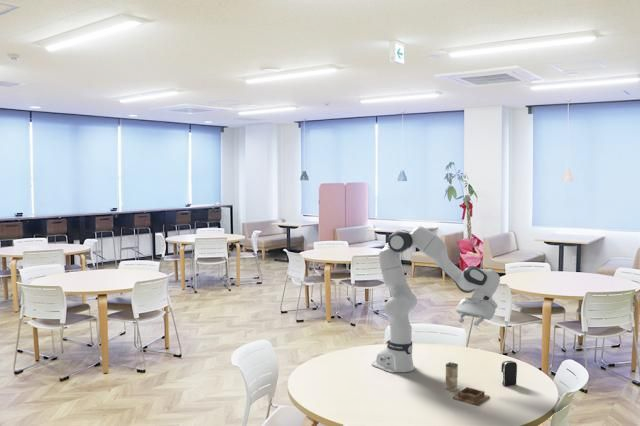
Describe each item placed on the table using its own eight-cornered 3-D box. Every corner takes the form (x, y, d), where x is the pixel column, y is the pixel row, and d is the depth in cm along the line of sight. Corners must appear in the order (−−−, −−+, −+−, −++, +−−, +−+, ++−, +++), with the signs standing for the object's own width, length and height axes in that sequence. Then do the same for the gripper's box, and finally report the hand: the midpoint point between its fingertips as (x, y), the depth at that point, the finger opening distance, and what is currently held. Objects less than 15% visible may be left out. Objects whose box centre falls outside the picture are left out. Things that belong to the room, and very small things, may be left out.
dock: (452, 398, 259) (452, 392, 258) (465, 390, 268) (465, 385, 268) (477, 405, 251) (477, 399, 251) (489, 397, 260) (489, 391, 260)
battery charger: (511, 382, 279) (512, 359, 278) (517, 385, 275) (517, 361, 274) (499, 384, 276) (500, 360, 276) (504, 386, 273) (505, 363, 272)
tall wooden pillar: (445, 389, 270) (445, 364, 269) (449, 386, 273) (449, 362, 272) (453, 391, 267) (453, 366, 266) (457, 388, 270) (457, 363, 269)
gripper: (460, 293, 287) (448, 316, 282) (493, 298, 271) (481, 323, 266) (467, 300, 290) (455, 323, 285) (500, 306, 273) (488, 330, 268)
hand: (468, 323), depth 275 cm, fingers open, 8 cm apart
